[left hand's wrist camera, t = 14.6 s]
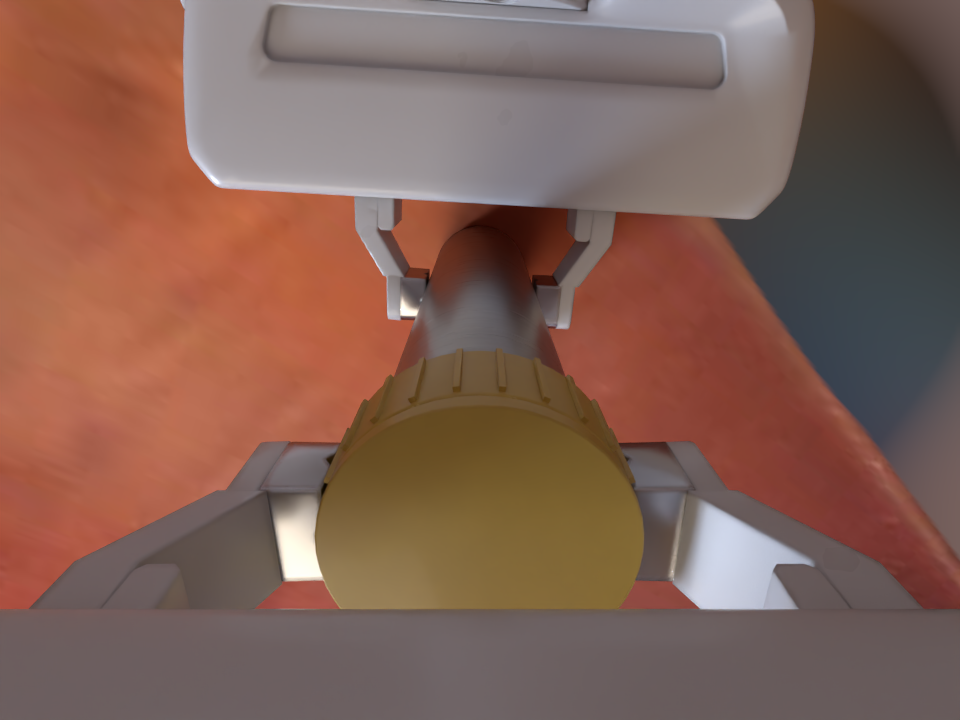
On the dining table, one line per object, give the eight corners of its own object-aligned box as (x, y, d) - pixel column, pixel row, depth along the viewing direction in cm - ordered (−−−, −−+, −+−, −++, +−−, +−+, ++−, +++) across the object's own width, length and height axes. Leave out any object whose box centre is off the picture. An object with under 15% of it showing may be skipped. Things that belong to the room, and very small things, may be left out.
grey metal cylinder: (464, 327, 27) (436, 664, 10) (419, 254, 26) (291, 493, 8) (539, 286, 27) (655, 571, 9) (496, 208, 25) (535, 365, 8)
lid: (435, 613, 12) (426, 712, 10) (287, 428, 10) (238, 501, 8) (659, 513, 11) (700, 600, 9) (536, 291, 9) (552, 334, 7)
